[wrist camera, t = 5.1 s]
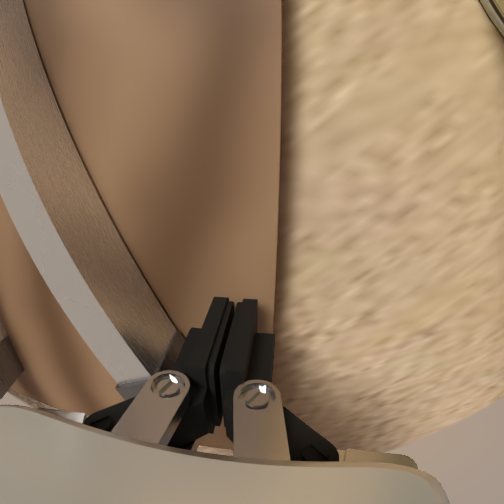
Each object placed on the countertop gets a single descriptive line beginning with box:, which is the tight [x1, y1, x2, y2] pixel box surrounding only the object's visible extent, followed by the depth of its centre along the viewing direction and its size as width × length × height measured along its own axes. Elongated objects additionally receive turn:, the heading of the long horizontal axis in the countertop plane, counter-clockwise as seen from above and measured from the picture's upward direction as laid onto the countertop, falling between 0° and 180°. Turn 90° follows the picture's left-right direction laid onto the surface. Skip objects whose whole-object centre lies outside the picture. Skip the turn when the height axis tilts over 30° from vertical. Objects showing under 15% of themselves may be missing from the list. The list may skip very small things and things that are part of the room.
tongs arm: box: [0, 0, 185, 400], centre depth 9 cm, size 25×4×3 cm, turn 24°
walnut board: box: [0, 0, 282, 450], centre depth 12 cm, size 21×34×2 cm, turn 179°
